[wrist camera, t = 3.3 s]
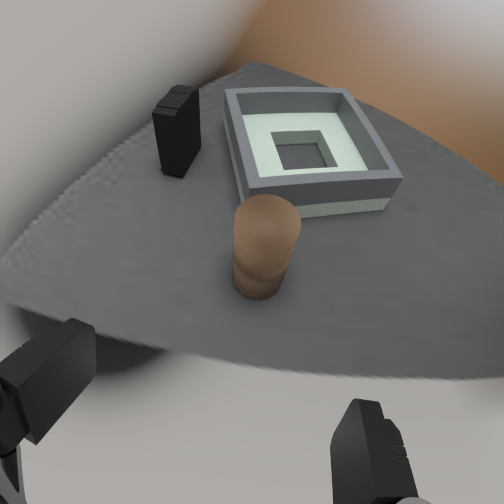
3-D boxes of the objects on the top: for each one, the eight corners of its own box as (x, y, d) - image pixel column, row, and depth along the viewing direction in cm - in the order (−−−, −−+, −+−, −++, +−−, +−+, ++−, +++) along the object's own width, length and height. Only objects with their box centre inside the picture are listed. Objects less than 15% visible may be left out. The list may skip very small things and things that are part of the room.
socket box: (336, 120, 37) (346, 88, 33) (383, 209, 31) (403, 177, 26) (224, 124, 35) (224, 89, 31) (245, 225, 29) (249, 188, 24)
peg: (275, 251, 27) (291, 191, 20) (286, 295, 26) (308, 245, 19) (228, 258, 27) (229, 197, 20) (236, 303, 25) (240, 254, 18)
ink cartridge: (182, 143, 33) (176, 81, 26) (201, 147, 33) (199, 84, 26) (161, 174, 31) (150, 109, 24) (182, 179, 31) (174, 113, 24)
